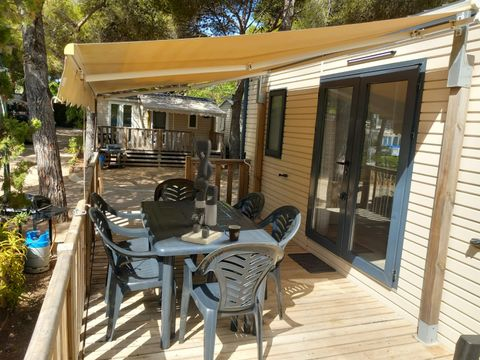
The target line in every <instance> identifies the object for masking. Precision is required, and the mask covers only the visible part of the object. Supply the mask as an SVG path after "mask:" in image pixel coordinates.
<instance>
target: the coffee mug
mask: <svg viewBox="0 0 480 360" xmlns="http://www.w3.org/2000/svg"><path fill="white" fill-rule="evenodd" d="M227 231H228V234H227ZM240 233H241V226H239V225H229V226H228V229H225V231H224V235H226V236H227V237H228V239H229V242H234V243H236V242H238V241H239V238H240Z"/></svg>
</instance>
